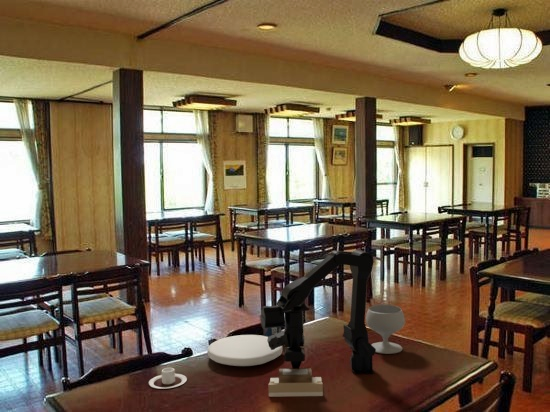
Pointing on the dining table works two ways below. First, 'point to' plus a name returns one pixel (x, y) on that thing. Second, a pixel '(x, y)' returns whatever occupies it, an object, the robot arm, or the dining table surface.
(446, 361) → the dining table surface
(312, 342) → the dining table surface
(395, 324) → the chalice
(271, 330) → the soda can
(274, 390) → the wall board
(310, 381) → the frame
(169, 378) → the candle holder
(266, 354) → the white thick flat disc
